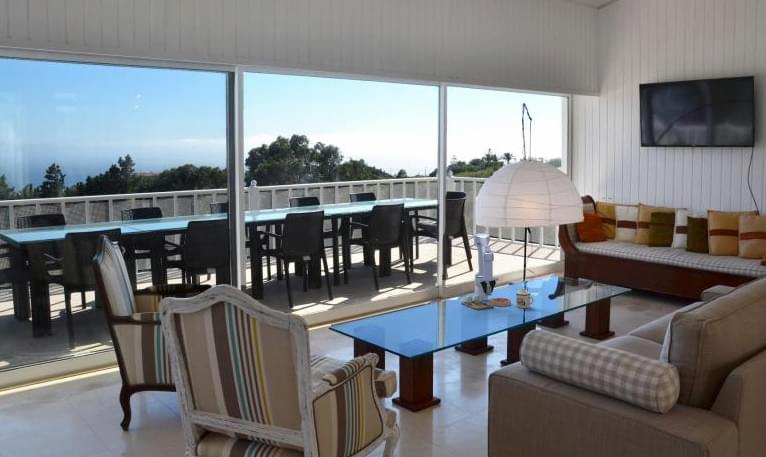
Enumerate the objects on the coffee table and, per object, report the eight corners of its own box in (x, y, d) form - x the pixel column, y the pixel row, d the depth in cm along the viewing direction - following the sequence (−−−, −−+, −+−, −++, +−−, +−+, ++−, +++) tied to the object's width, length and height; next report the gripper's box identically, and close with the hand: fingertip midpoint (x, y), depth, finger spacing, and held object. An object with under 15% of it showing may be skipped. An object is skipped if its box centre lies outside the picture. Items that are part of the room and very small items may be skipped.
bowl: (486, 303, 460) (486, 299, 459) (503, 301, 465) (503, 297, 464) (497, 307, 448) (497, 302, 448) (514, 305, 453) (514, 300, 453)
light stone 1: (464, 304, 457) (464, 296, 456) (470, 303, 458) (470, 295, 457) (468, 305, 453) (467, 297, 452) (473, 305, 454) (473, 296, 454)
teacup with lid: (513, 307, 449) (513, 289, 448) (521, 304, 456) (521, 286, 454) (529, 309, 441) (529, 291, 440) (537, 307, 447) (537, 289, 446)
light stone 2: (473, 303, 459) (473, 295, 458) (478, 302, 460) (478, 294, 460) (476, 304, 455) (476, 296, 455) (481, 304, 457) (481, 295, 456)
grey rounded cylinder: (483, 294, 452) (483, 286, 451) (489, 294, 453) (489, 285, 453) (487, 295, 448) (487, 287, 447) (492, 295, 450) (492, 286, 449)
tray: (461, 304, 459) (460, 302, 458) (477, 302, 464) (477, 300, 463) (476, 311, 441) (476, 308, 440) (493, 308, 446) (493, 306, 445)
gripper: (481, 273, 443) (481, 295, 444) (501, 271, 448) (501, 292, 450) (475, 271, 449) (475, 292, 451) (495, 269, 454) (495, 290, 456)
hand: (488, 292), depth 451 cm, fingers closed on grey rounded cylinder, 4 cm apart
